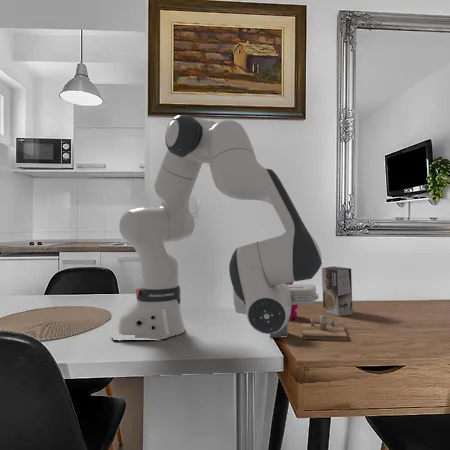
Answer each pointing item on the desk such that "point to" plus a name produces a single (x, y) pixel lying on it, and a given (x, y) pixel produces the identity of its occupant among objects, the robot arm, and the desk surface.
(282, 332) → the grey slotted block
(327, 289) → the coffee box
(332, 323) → the post plate
